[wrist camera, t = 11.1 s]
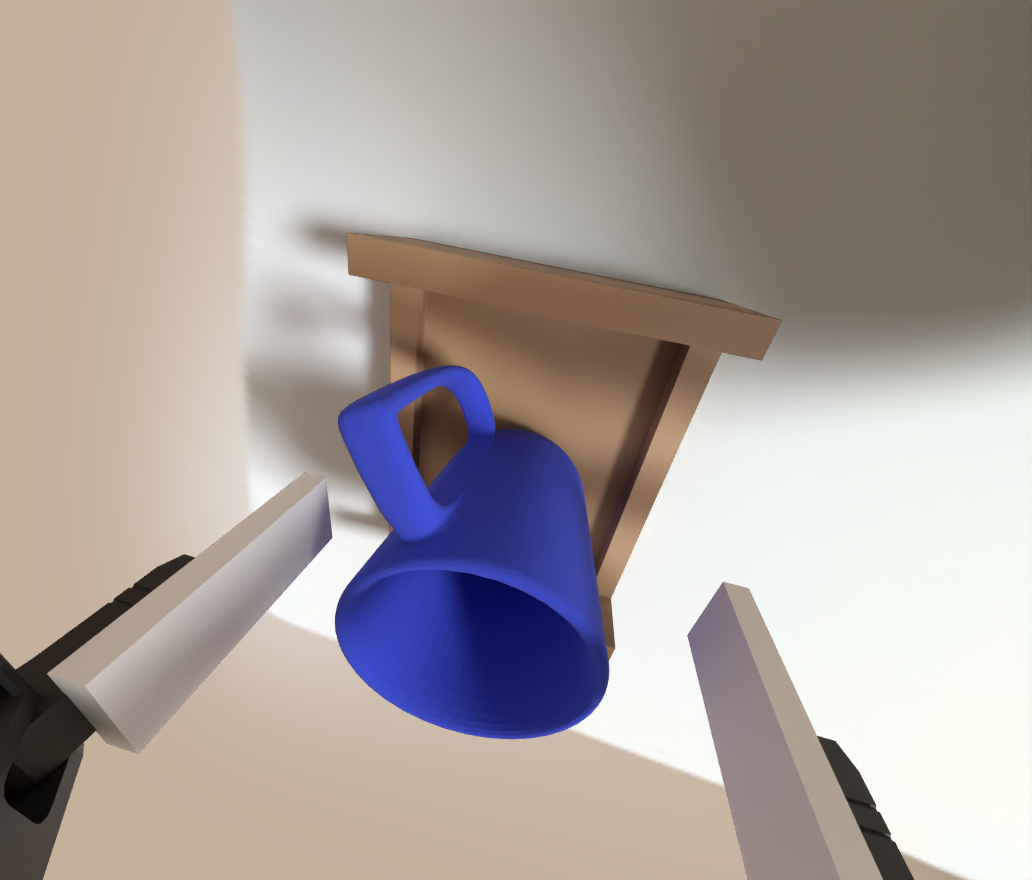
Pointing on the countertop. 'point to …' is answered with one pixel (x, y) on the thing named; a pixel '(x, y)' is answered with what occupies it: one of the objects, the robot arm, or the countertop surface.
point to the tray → (558, 369)
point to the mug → (474, 574)
